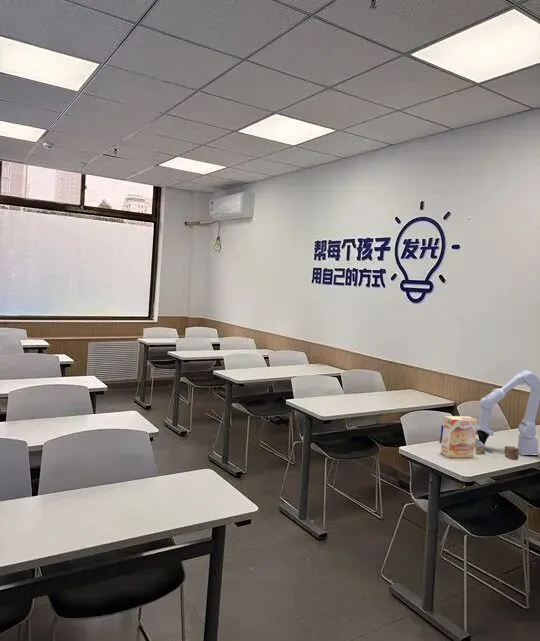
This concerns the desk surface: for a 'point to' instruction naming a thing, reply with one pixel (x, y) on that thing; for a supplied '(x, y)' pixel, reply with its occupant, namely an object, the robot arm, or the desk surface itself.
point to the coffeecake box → (458, 436)
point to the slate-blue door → (479, 443)
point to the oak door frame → (480, 448)
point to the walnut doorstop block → (511, 452)
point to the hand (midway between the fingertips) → (482, 444)
